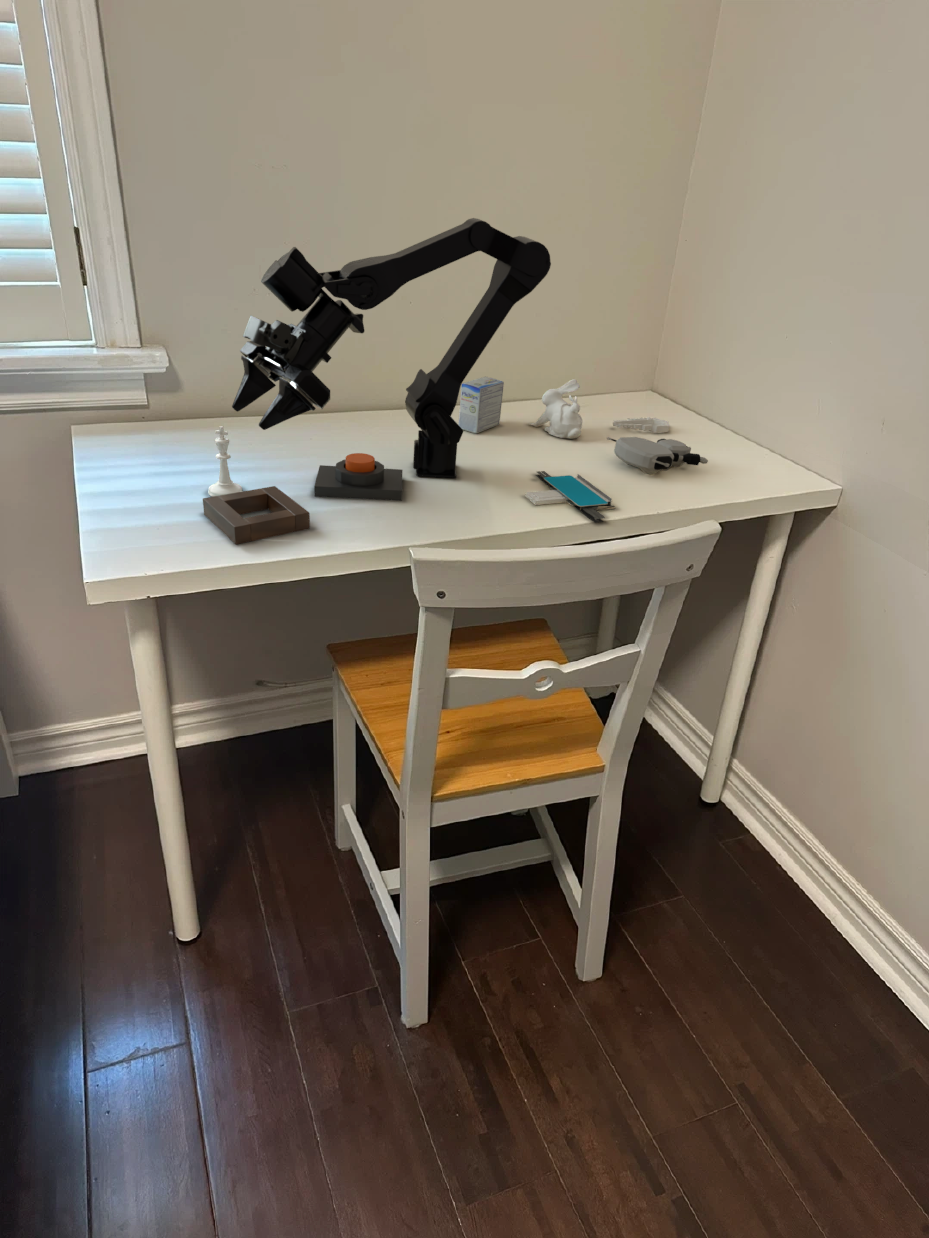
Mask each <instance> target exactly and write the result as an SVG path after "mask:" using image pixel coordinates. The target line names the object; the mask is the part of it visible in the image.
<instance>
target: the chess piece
mask: <svg viewBox="0 0 929 1238" xmlns="http://www.w3.org/2000/svg"><path fill="white" fill-rule="evenodd" d="M214 432H215V434H216V435H219V437H216V438H215V440H214V443H215V446H216V448H217V451H218V453H216V454H215V459H216V460H219V472H218V475H219V476H218V480H217V481H216V482H215V483H213V484H211V485H210V486H209V487H208V495H209V497H213V496H220V495H226V494H231V493H237V492H243V491H244V490H243V486H242V485H241V484H239V483H237V482H234V481H233V480H232V478H231V475H230V470H229V466H228V460H230V459H231V457H232V456H231V454H230V453H228V450H229V449H228V448H229V445H230V439H229V438H227V437H225V436H228V435H229V431H227V430H224V426H222V425H220V426H218V429H215V431H214Z"/></svg>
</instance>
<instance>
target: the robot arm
mask: <svg viewBox="0 0 929 1238" xmlns="http://www.w3.org/2000/svg"><path fill="white" fill-rule="evenodd" d="M477 252H482V253H483V254H486V255H487V256H489V257H492V258H493V259H496V261H495V263H494V266H493V268H492V269H493V270H492V274H491V277H490V281H489V286H488V288H487V289H486V291H485V292H484V294H483V296H482V297H481V299H480V300H479V302H478V303H477V304H476V307H475V308H474V309H473V311H472V312H471V314H470V315H469V317H468V319H467V320H466V322H465V323H464V325H463V326H462V328H461V329H460V331H459V332H458V333H457V336H456V337H455V339H454V340H453V341H452V343H451V344H450V346H449V348H448V349H447V351H446V352H445V354H444V355H443V357H442V358H441V360H440V362H439V363H438V364H437V366H436V367H434V368H433V369H432V370H430V371H429V372H427V373H426V371H424V370H423V369H422V368H420V369H419V370H418V371H417V372H416V375H415V378H414V380H413V382H411V384H410V385H409V386H407V387H406V388H405V391H406V392H407V394H406V396H405V399H404V404H405V409H406V411H407V413H408V415H409V417H410V418H411V419H412V420H413V422H414V424H416V425H417V427H418V428H419V429H420V430H419V429H418V433H417V439H414V440H413V456H412V457H413V458H412V459H413V460H412V465H413V466H412V467H413V470H415V475H416V477H423V478H441V479H457V470H456V469H457V468H456V466H457V454H458V443H460V441H461V439H462V436H463V434H464V430H463V429H462V428H461V427H460V426H459V425H458V424H459V423H458V422H456V421H455V419H454V418H453V417H452V415H453V412H454V410H455V408H456V406H457V404H458V399H459V395H460V392H461V387H462V384H463V383H464V381H465V380H466V378H467V376H468V374H469V373H470V371H471V370H472V369H473V367H474V365H475V364H476V362H477V361H478V360H479V358H480V356H481V355H482V353H483V352H484V351H485V349H486V347H487V346H488V344H489V343H490V341H491V340H492V338H493V337H494V335H495V334H496V333H497V331H498V329H499V328H500V326H501V325H502V324H503V322H504V321H505V319H506V317H507V316H508V314H509V313H510V311H511V310H512V308H513V307H514V306H515V305H516V304H517V303H518V302H519V301H521V300H522V299H523V298H525V297H527V296H528V295H529V294H530V293H532V292H533V291H534V290H535V288H537V286H538V285H539V284H540V283H541V282H543V280H544V279H545V278H546V276H548V273H549V271H550V269H551V266H552V262H551V254H550V252H549V249H548V248H547V247H546V245H545V244H543V243H541V242H539V241H537V240H535V239H532V238H529V237H528V236H527V237H526V236H522V235H521V236H520V235H518V236H514V237H513V236H511V235H508V234H507V233H505V232H503V231H501V230H499V229H497V228H495V227H493V226H492V225H491V224H490V223H488V222H487V221H485V220H483V219H480V218H475V217H471V218H468V219H467V220H465V221H464V222H463V223H461V224H459V225H456V226H454V227H452V228H449V229H447V230H445V231H442V232H440V233H437V234H436V235H434V236H431V237H428V238H426V239H424V240H421V241H419V242H417V243H416V244H413V245H410V246H408V247H406V248H404V249H401V250H399V251H397V252H395V253H390V254H386V255H377V256H370V257H365V258H362V259H361V258H360V259H357V260H352V261H349V262H347V263H346V264H345V265H343V266H342V267H341V268H340V269H337V270H331V271H323V272H318V271H317V269H315V267H314V266H313V265H312V264H311V263H310V262H309V261H308V260H307V259H306V258H305V255H304V254H303V253H302V252H301V251H300V250H299V249H298V247H296V246H292V248H291V249H290V250H289V251H288V252H286V253H285V254H283V255H282V256H280V258H279V259H278V260H274V262H273V263H272V264H271V265H270V266H269V267H268V269H267V270H266V271H265V273H264V274H263V275H262V277H261V280H260V283H262V285H264V287H266V289H268V290H269V292H271V293H272V295H274V297H276V299H278V300H279V301H280V302H281V303H282V304H283V305H284V307H286V308H287V309H288V311H290V312H295V311H297V310H298V311H299V312H301V313H304V312H305V311H307V310H308V309H309V310H308V311H307V312H306V314H305V315H304V316H303V317H302V319H301V320H300V321H299V322H298V323H297V324H296V325H295V324H294V323H289V324H287V323H284V322H283V321H280V320H278V319H275V320H274V321H273V322H272V323H269V322H267V321H265V320H262V319H260V318H258V317H256V316H254V315H252V314H250V317H249V319H248V321H247V324H246V327H245V329H244V332H243V335H242V337H243V338H244V339H248V341H246V342H245V344H244V345H243V346H242V347H241V348H240V349H239V352H240V354H241V356H240V360H241V361H242V365H243V371H244V372H243V376H242V379H241V382H240V385H239V387H238V389H237V392H236V394H235V397H234V400H233V402H232V405H231V409H233V410H234V411H235V412H237V413H238V412H240V411H241V410H243V409H245V408H246V407H248V406H250V405H251V404H252V403H253V402H255V401H256V400H258V399H259V398H261V397H262V396H264V395H265V394H266V393H268V392H269V391H271V390H272V389H273V388H275V387H276V386H277V384H276V382H278V381H279V382H278V392H277V395H276V396H275V398H274V399H273V401H272V402H271V404H270V405H269V407H268V408H267V409H266V411H265V412H264V414H263V416H262V418H261V419H260V421H259V423H258V427H259V428H261V430H263V431H266V430H268V429H270V428H273V427H274V426H277V425H279V424H281V423H283V422H285V421H288V420H290V419H292V418H295V417H298V416H300V415H302V414H304V413H307V412H309V411H312V412H314V411H316V410H317V409H316V407H317V408H319V409H320V410H323V409H324V408H325V407H326V406H327V404H328V403H329V402H330V401H331V389H330V388H329V387H328V386H327V385H326V384H325V383H324V382H323V381H322V380H321V379H320V378H319V377H318V376H317V374H316V373H314V371H315V369H316V368H317V367H318V366H319V364H321V362H324V363H326V364H328V363H329V362H330V361H331V359H332V357H331V355H330V354H329V353H330V351H331V350H332V348H334V346H336V344H337V343H338V342H339V340H340V339H341V338H342V337H343V336H344V334H345V333H346V332H347V331H348V329H349V330H351V331H352V333H354V334H355V333H356V334H364V333H365V326H364V325H365V324H364V314H363V313H359V312H358V313H354V312H353V311H352V310H351V309H350V307H348V305H346V303H344V302H343V300H341V299H344V300H346V301H347V302H348V303H349V304H350V305H352V306H353V307H354V308H356V309H359V310H362V311H368V310H371V309H374V308H376V307H377V306H379V305H380V304H382V303H383V302H385V301H386V300H387V299H389V298H390V297H392V296H393V295H394V294H396V292H398V290H399V289H400V288H401V287H403V286H405V284H407V283H408V282H411V281H413V280H416V279H417V278H420V277H422V276H425V275H427V274H429V273H431V272H434V271H435V270H436V271H437V269H440V268H443V267H445V266H448V265H449V264H452V263H454V262H457V261H459V260H461V259H463V258H465V257H468V256H471V255H472V254H474V253H477ZM323 288H324V289H326V291H328V292H329V294H330V295H332V296H333V298H338V299H337V300H334V299H333V298H332V297H331V296H330V295H328V293H327V292H326V291H325V290H324V289H323ZM274 382H275V383H274Z"/></svg>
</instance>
